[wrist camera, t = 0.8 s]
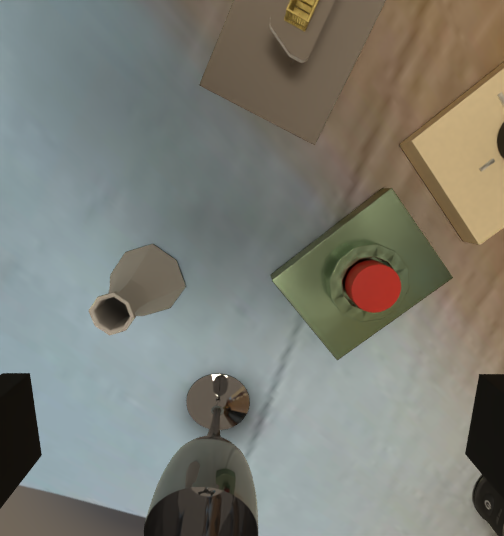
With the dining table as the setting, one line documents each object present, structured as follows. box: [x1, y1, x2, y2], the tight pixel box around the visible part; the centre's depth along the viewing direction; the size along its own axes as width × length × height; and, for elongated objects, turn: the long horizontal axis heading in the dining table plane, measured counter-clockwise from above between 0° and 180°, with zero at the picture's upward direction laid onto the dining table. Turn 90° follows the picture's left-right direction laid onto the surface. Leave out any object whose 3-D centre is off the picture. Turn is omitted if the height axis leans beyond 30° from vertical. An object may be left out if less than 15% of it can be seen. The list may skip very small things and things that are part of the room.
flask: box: [89, 244, 186, 335], centre depth 30 cm, size 7×7×10 cm
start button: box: [345, 260, 401, 313], centre depth 30 cm, size 4×4×2 cm
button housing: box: [271, 188, 453, 360], centre depth 33 cm, size 14×11×4 cm
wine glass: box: [144, 374, 258, 536], centre depth 31 cm, size 8×8×15 cm
